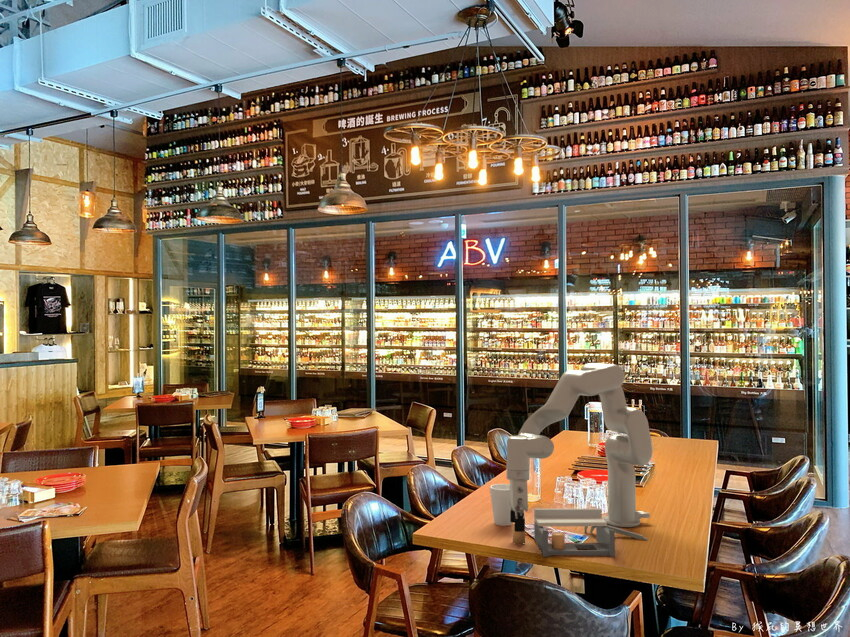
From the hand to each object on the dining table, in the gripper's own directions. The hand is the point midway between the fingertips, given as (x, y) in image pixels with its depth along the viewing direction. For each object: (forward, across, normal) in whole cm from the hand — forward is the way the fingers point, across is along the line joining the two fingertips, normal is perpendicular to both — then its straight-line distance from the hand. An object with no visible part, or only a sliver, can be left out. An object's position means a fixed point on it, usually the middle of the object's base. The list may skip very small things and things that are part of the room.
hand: (517, 526), depth 206 cm
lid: (-2, -1, -17) cm, 17 cm away
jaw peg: (+5, 0, -1) cm, 5 cm away
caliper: (+5, +6, -34) cm, 35 cm away
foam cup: (+5, +21, +2) cm, 22 cm away
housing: (+5, -5, -17) cm, 19 cm away
